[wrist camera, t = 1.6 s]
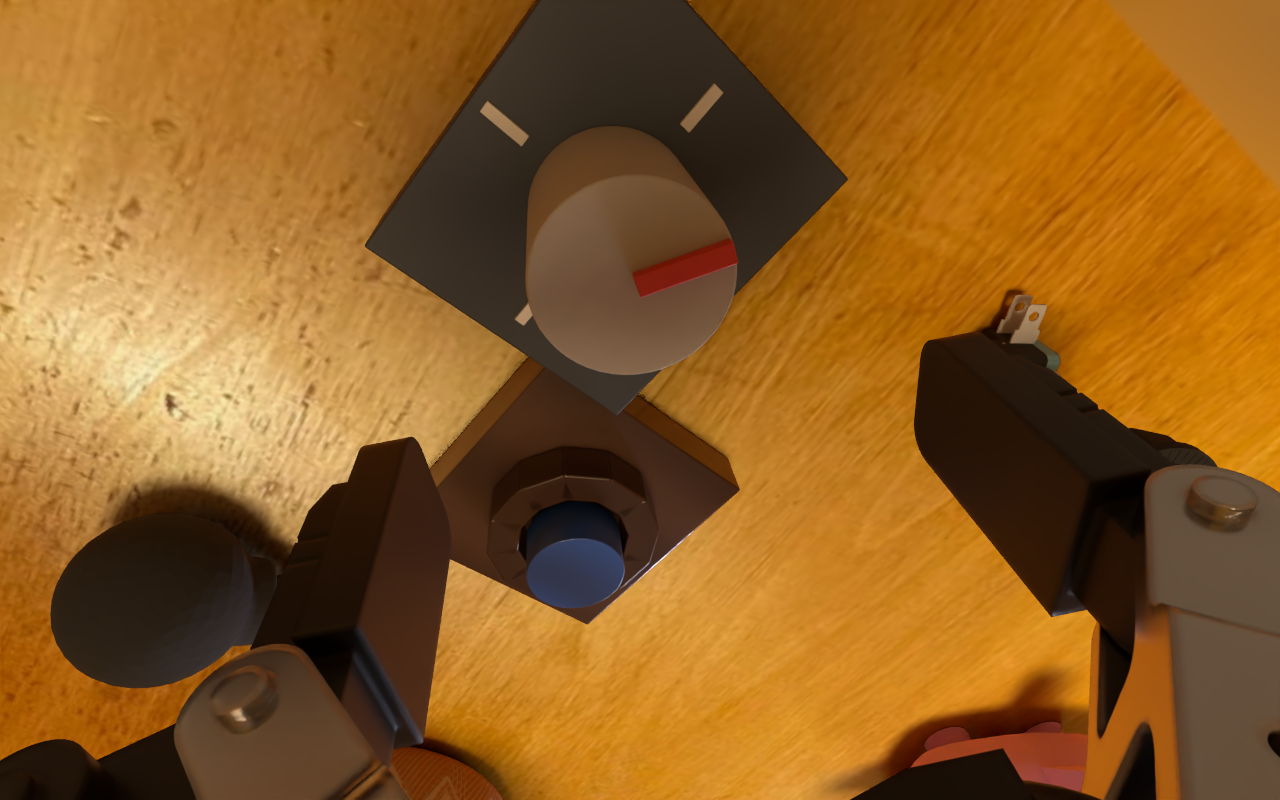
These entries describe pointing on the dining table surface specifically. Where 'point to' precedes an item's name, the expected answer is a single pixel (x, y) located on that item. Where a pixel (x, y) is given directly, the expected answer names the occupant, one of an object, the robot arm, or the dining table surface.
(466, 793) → the planter
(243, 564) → the light bulb
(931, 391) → the robot arm
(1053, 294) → the dining table surface
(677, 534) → the switch block
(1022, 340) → the push button
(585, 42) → the dimmer panel
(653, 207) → the dimmer
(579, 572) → the switch button
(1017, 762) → the teapot
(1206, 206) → the dining table surface
